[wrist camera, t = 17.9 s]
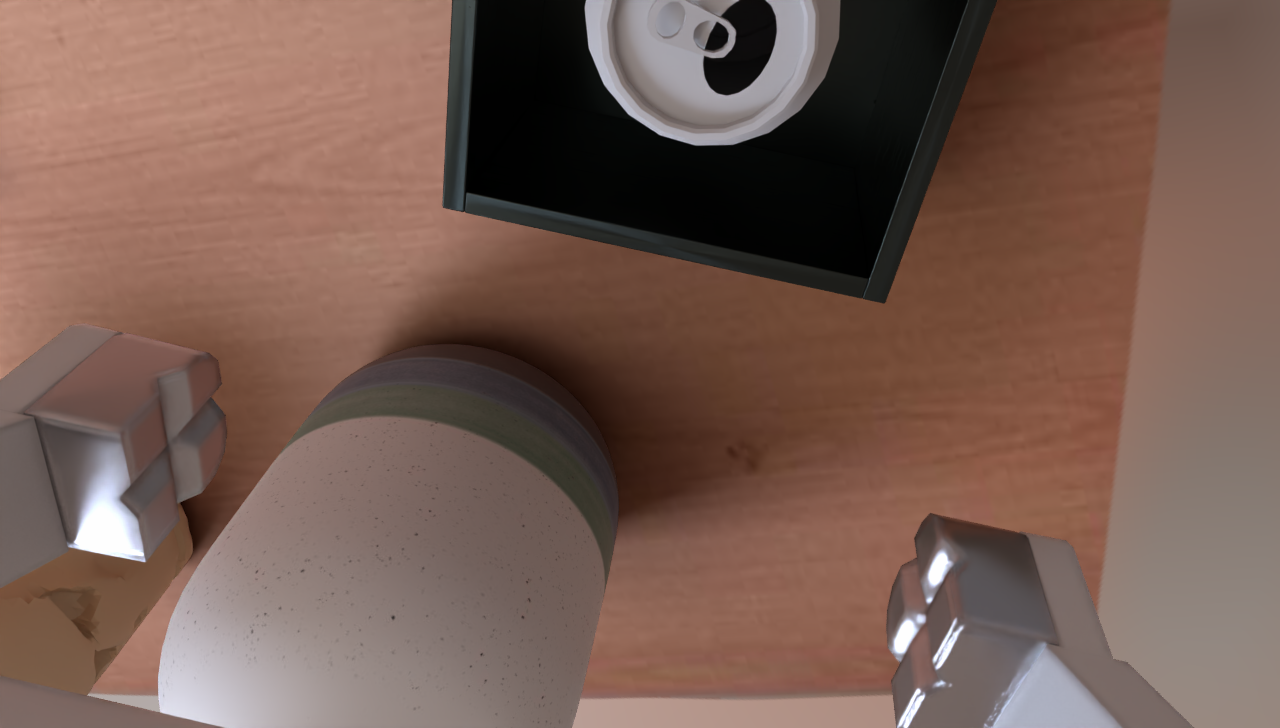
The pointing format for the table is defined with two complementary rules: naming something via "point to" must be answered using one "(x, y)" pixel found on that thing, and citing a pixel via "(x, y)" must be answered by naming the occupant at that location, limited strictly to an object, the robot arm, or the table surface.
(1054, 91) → the table surface
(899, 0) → the bin
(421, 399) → the vase
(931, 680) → the robot arm
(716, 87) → the can
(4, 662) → the container
